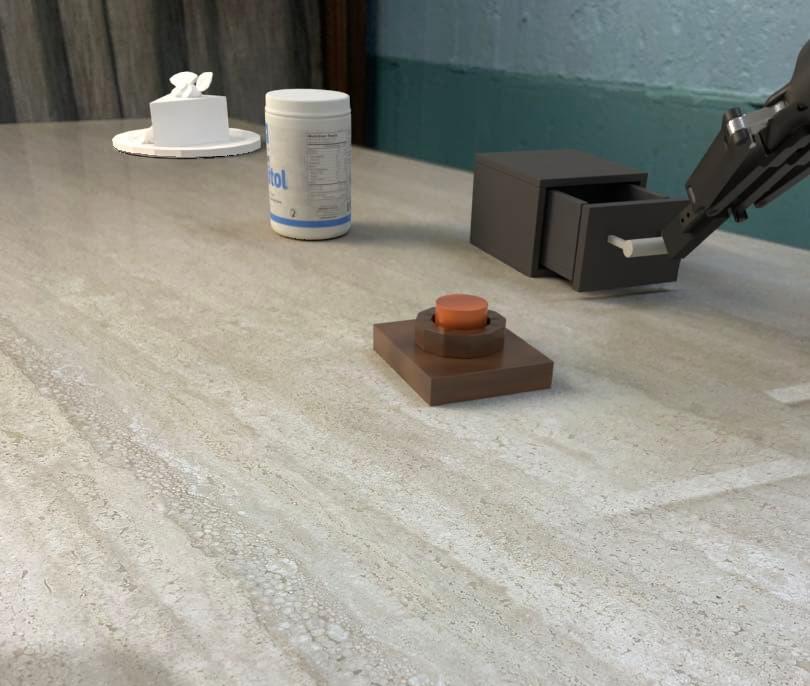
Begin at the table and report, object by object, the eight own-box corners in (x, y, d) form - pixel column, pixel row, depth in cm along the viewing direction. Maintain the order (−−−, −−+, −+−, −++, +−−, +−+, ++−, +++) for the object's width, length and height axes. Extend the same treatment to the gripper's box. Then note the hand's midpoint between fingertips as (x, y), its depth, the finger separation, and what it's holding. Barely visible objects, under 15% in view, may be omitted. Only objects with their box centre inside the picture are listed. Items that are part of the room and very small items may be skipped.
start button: (495, 329, 66) (497, 307, 65) (447, 335, 65) (448, 313, 64) (472, 313, 69) (474, 291, 68) (426, 318, 68) (427, 296, 67)
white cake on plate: (171, 130, 163) (163, 62, 157) (287, 141, 155) (283, 70, 149) (82, 149, 144) (69, 73, 138) (209, 164, 136) (201, 83, 130)
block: (551, 389, 66) (557, 338, 64) (430, 407, 62) (432, 354, 60) (481, 335, 75) (484, 290, 73) (372, 349, 72) (373, 302, 70)
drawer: (704, 294, 83) (722, 209, 79) (603, 307, 79) (616, 218, 75) (602, 246, 97) (613, 172, 92) (512, 255, 93) (518, 178, 89)
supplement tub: (256, 228, 104) (247, 91, 96) (323, 217, 109) (319, 86, 101) (298, 246, 98) (292, 101, 89) (367, 234, 102) (367, 96, 94)
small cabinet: (633, 267, 93) (648, 172, 88) (530, 278, 89) (540, 179, 84) (563, 234, 105) (573, 148, 99) (469, 242, 101) (474, 153, 95)
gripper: (824, 100, 53) (623, 291, 75) (976, 95, 57) (743, 277, 79) (785, -6, 54) (598, 213, 76) (936, -4, 58) (718, 203, 80)
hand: (672, 245), depth 77 cm, fingers closed
